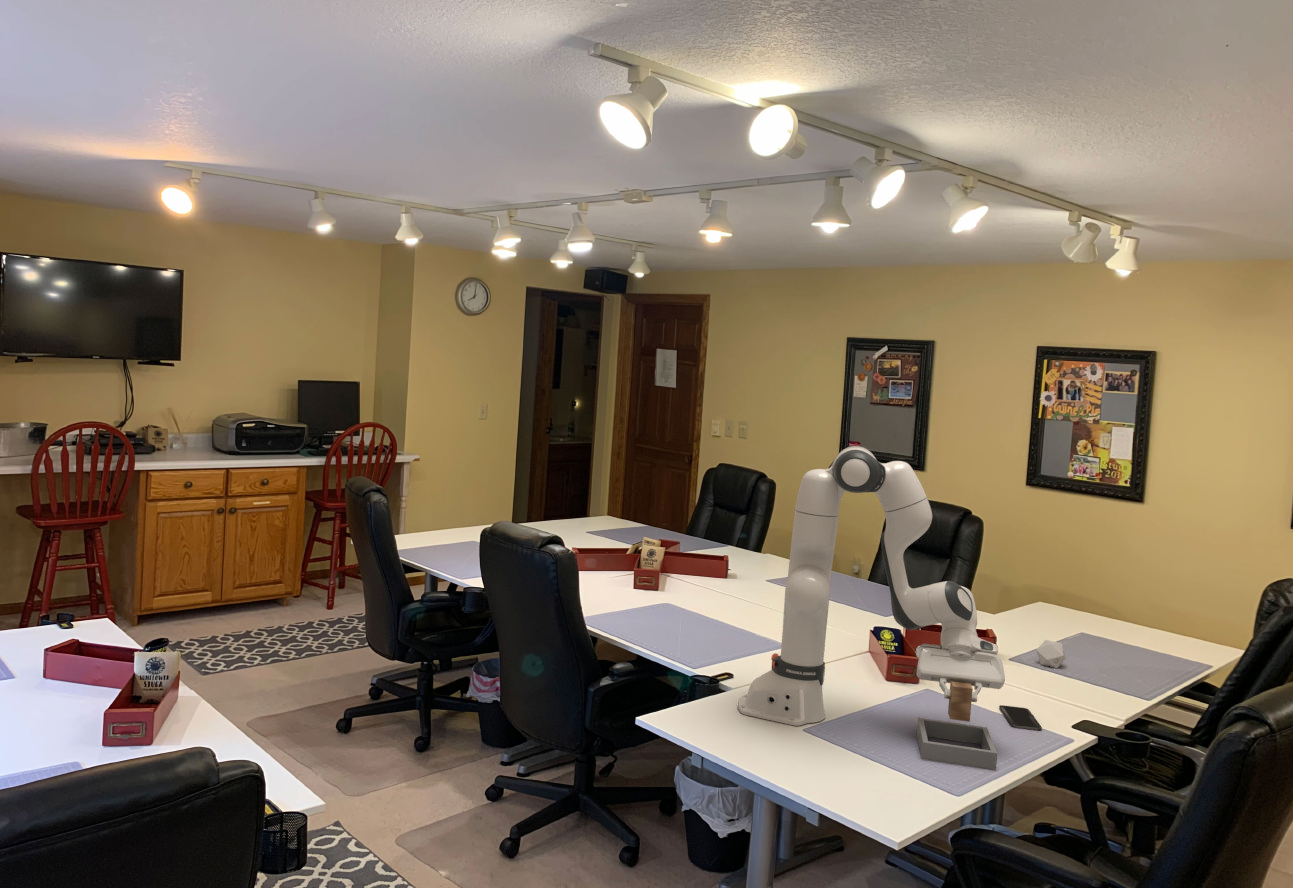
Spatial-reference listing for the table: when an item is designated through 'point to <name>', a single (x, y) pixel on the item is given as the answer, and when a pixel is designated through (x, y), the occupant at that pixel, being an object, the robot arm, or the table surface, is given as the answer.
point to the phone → (1020, 718)
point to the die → (1051, 654)
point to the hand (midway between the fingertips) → (960, 699)
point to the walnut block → (960, 701)
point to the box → (953, 752)
